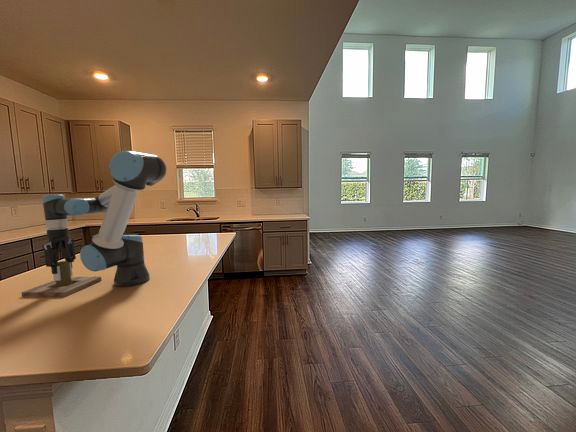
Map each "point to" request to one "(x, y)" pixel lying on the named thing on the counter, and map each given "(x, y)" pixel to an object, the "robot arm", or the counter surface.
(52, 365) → the counter surface
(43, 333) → the counter surface
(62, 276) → the olive tapered block
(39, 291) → the walnut board
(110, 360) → the counter surface
